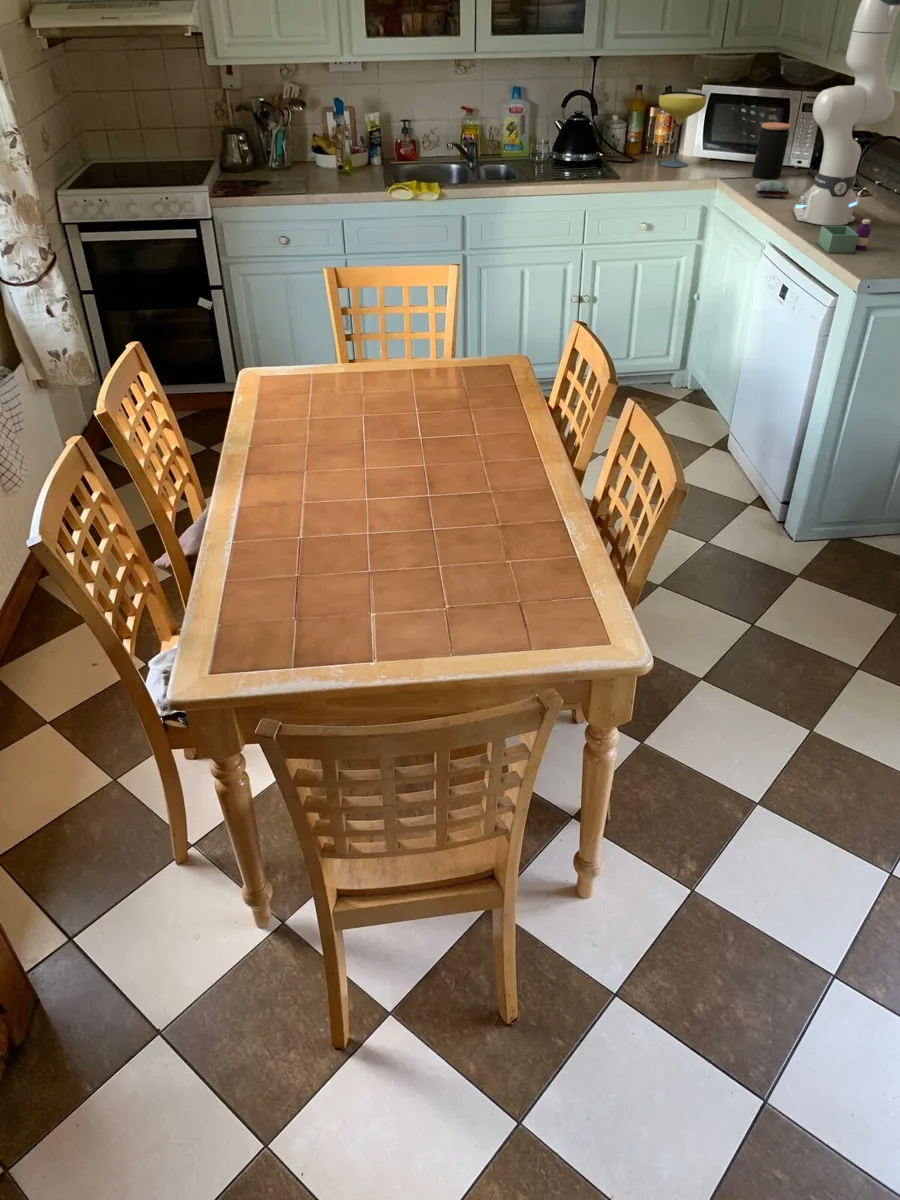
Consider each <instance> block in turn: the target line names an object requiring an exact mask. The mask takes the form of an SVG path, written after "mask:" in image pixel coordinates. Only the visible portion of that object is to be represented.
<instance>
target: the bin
mask: <svg viewBox="0 0 900 1200" xmlns="http://www.w3.org/2000/svg"><path fill="white" fill-rule="evenodd" d="M856 232H857V231H856ZM856 232H855V231H854V230H853V229H852V228H850V227H849V226H848V225H821V227H820V231H819V234H818V239H817V245H818V246H819V247H821V248H822V249H823V250H824V251H825V252H826V253H828V254H855V251H856V249H855V248H856V244H857V241H858V237H859V235H858V234H857V233H856Z"/></svg>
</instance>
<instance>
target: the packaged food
mask: <svg viewBox="0 0 900 1200" xmlns="http://www.w3.org/2000/svg"><path fill="white" fill-rule="evenodd" d="M754 187H755V188H756V191H755V193H757V194H758V195H759V196H761V197H767V198H782V197H785V196H788V195H789V196H790V195H791V193H790V191H789V187H787V185H786V183H785V182H783V181H778V180H763V181H762V180H761V181H760V182H759V183H758V184H756V183H755V184H754Z"/></svg>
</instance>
